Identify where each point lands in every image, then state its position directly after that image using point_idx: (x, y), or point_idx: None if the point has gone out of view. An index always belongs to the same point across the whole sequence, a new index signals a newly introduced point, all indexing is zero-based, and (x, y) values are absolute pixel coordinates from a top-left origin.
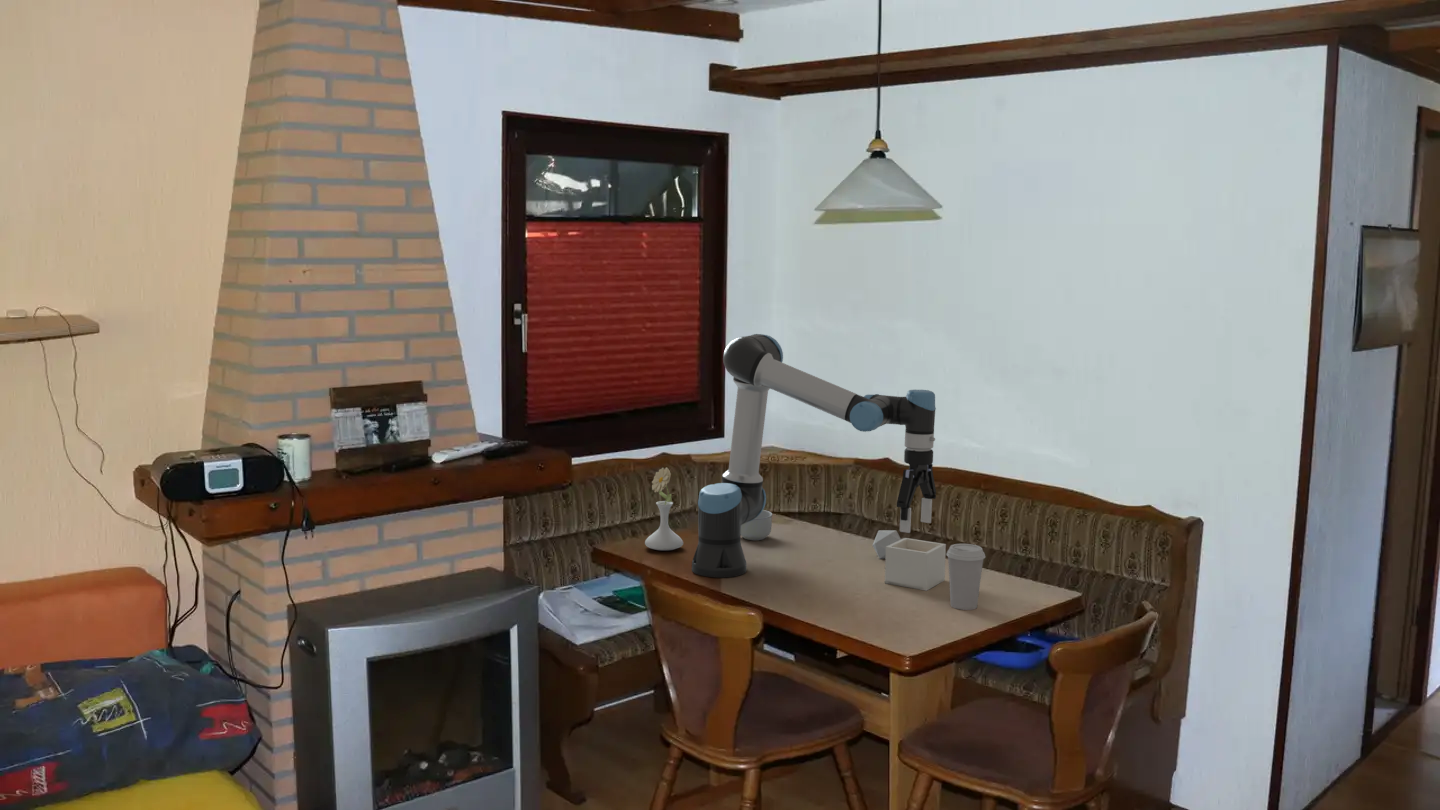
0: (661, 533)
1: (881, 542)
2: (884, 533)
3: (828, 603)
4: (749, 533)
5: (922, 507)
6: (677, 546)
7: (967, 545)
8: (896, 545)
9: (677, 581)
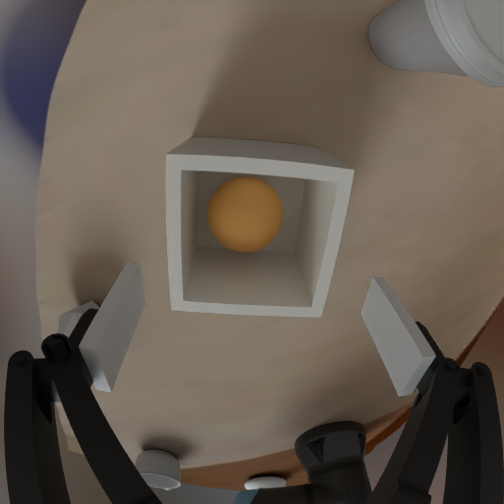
0: None
1: None
2: None
3: (454, 290)
4: (178, 464)
5: (124, 348)
6: (272, 478)
7: (463, 7)
8: (266, 302)
9: (384, 435)
